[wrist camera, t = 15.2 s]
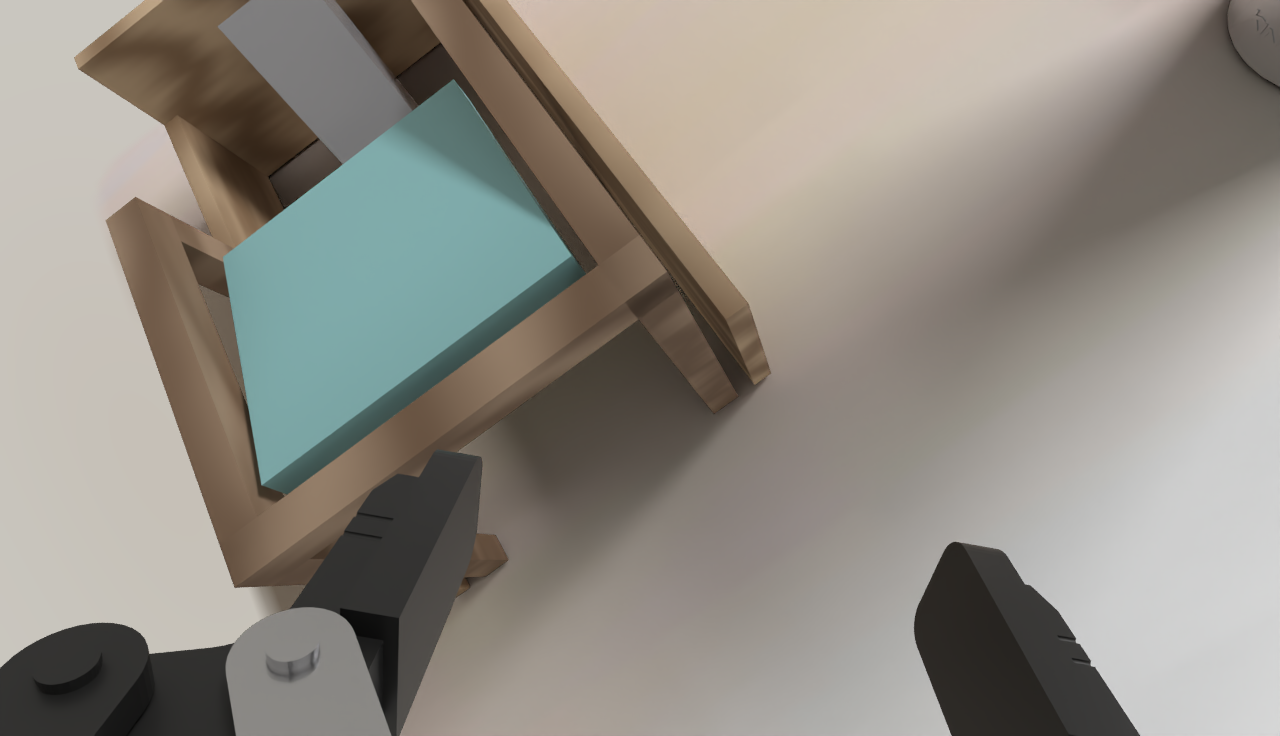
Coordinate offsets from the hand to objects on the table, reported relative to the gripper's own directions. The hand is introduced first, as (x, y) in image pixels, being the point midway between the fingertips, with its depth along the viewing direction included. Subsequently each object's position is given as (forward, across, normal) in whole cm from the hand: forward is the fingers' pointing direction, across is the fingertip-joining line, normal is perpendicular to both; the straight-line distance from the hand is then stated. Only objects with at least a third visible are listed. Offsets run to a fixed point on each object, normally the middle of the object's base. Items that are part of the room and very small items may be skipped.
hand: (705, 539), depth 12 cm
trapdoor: (+14, +11, +2) cm, 18 cm away
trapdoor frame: (+30, +12, +6) cm, 33 cm away
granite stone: (+31, +24, -6) cm, 39 cm away
